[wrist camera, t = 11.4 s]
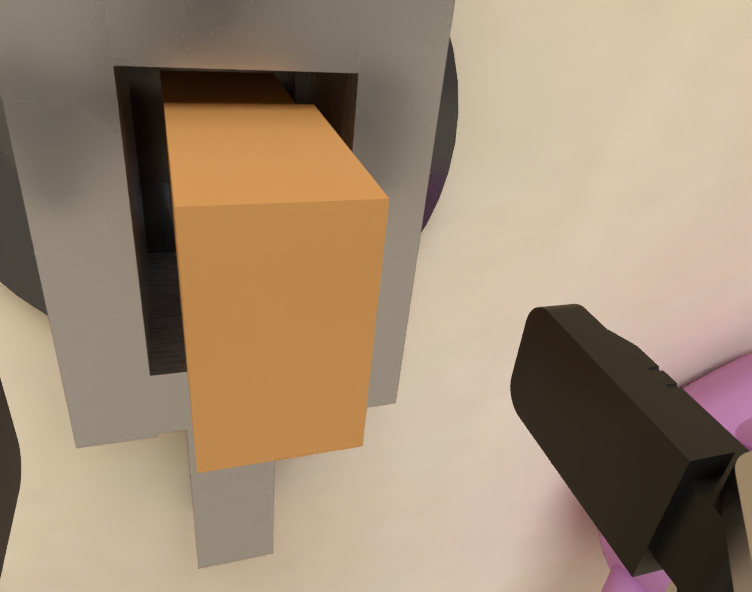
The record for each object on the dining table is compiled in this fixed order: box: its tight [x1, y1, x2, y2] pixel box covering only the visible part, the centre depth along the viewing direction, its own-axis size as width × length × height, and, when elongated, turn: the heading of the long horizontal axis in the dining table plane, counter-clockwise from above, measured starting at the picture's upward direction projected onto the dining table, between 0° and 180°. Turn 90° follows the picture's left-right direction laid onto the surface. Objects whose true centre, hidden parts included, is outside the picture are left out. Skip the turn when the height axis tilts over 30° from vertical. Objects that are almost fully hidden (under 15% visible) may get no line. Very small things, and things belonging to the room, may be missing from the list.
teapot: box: [599, 353, 752, 592], centre depth 31 cm, size 23×21×15 cm
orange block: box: [160, 70, 389, 473], centre depth 14 cm, size 3×5×10 cm, turn 175°
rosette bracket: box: [0, 0, 458, 569], centre depth 19 cm, size 15×24×8 cm, turn 174°
